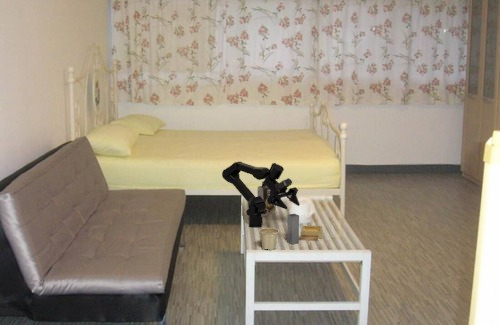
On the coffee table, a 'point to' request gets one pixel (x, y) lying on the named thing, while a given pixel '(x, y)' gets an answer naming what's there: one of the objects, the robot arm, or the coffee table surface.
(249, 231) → the coffee table surface
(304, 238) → the door edge strip
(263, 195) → the coffee box
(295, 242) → the bar
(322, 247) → the coffee table surface
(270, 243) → the flower pot
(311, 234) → the keeper
